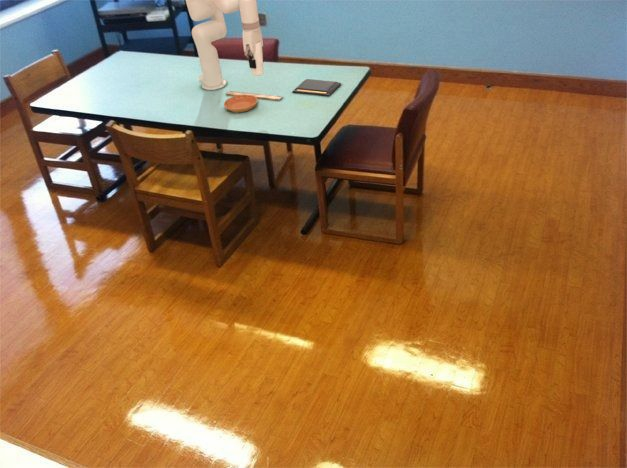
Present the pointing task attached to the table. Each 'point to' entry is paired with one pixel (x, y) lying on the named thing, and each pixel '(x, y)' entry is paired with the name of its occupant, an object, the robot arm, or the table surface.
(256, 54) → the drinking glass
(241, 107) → the saucer
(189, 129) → the table surface
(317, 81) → the wallet
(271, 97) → the ruler
